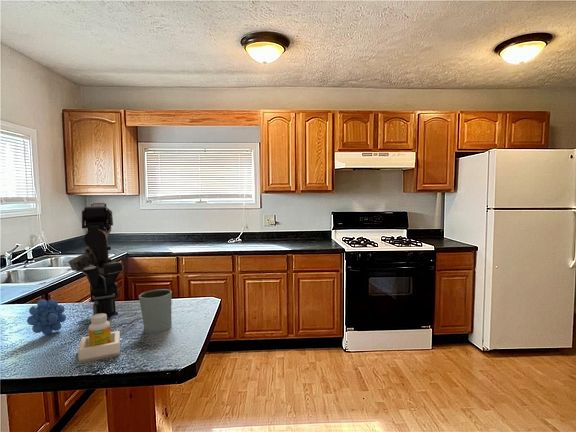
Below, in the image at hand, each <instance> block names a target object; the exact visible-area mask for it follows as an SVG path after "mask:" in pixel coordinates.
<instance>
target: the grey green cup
mask: <svg viewBox="0 0 576 432" xmlns="http://www.w3.org/2000/svg"><path fill="white" fill-rule="evenodd" d="M172 293H173V292H172V290H171V289H167V288H161V289H158V288H157V289H151V290H148V291H144V292H141V293H140V294H139V295H138V299H139V305H140V312H141V317H142V324H143V331H144V332H145V333H146V334H153V335H154V334H160V333H164V332H167V331H169V330H171V328H172V325H173V324H172V311H173V310H172V304H173V303H172V302H173V301H172V298H173V297H172V296H173V295H172Z"/></svg>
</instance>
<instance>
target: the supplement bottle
mask: <svg viewBox="0 0 576 432" xmlns="http://www.w3.org/2000/svg"><path fill="white" fill-rule="evenodd" d="M107 319H108V317H107V314H105V313H100V314H95V315H93V314H92V315H91V316H90V322H91V323H90V324H89V325H88V336H89V343H90V347H92V346H97V345H102V344H108V343H111V332H112V331H111V322H110V321H108V320H107Z"/></svg>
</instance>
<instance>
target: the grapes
mask: <svg viewBox="0 0 576 432" xmlns="http://www.w3.org/2000/svg"><path fill="white" fill-rule="evenodd" d="M58 303H59V302H58V301H57V300H56V299H55V298H53V299H48V300H46V299H39V300H38V301H37V303H36V305H32V306H30V307H29V310H28V313H29V314H30V315H29V316H28V317H27V319H26V322H27V324H28V325H30V326H31V330H32V332H33V333H36V334H40V333H42V334H43V335H44V336H48V335H49V336H50V335H51V334H52V333H53V331H54V332H57V331H60V330H61V328H62V323H64V322H65V321H67V315H66V314H64V312H65V310H66V309H65V306H64V305H63V304H58Z"/></svg>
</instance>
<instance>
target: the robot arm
mask: <svg viewBox="0 0 576 432" xmlns="http://www.w3.org/2000/svg"><path fill="white" fill-rule="evenodd" d="M112 226H114V218H113V211H112V210H110V208H108V207H107V202H106V203H105V202H93V203H91V204H90V206H85V207H84V209H83V210H81V228H82V229H87V231H86V233H85V235H84V244H85V245H86V246H87V247H86V248H85V249H84V253H83V254H82V253H81V255H78V256H76V257H74V258H72V259H71V260H68V262H67V263H68V265H69V266H70V268H71V270H72V272H73V271H74V272H81V273H82V274H84V275H85V276H86V279H87V281H88V284H89V291H90V292H89V294H90V302H91V303H93V304H92V312H93V313H92V316H93V315H95V314H100V313H105V314H107V318H108V317H111V316H115V315H117V314H119V312H118V311H116V299H118V298H119V296H120V293H119V285H118V284H117V282H116V281H117V279H118V277H119V275H120V274H122V272H123V271H124V264H123V263H122V262H120V261H115V260H114V261H113V260H112V258H109V257H110V255H109V251H111V250H112V248H111V247H112V246H109V242H108V241H109V239H108V237H109V235H110V233H111V232H112Z"/></svg>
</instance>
